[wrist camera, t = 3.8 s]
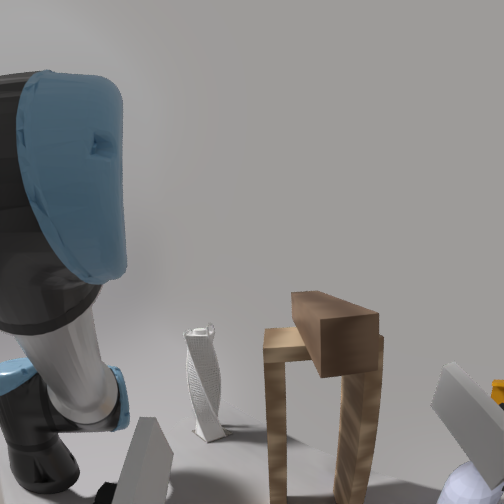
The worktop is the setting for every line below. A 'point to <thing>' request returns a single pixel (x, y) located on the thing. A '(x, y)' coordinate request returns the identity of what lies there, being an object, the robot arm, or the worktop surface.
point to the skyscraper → (204, 383)
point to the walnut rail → (336, 333)
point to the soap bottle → (472, 475)
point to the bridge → (351, 418)
